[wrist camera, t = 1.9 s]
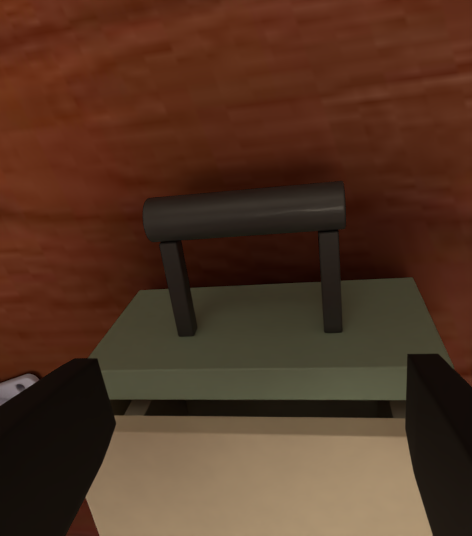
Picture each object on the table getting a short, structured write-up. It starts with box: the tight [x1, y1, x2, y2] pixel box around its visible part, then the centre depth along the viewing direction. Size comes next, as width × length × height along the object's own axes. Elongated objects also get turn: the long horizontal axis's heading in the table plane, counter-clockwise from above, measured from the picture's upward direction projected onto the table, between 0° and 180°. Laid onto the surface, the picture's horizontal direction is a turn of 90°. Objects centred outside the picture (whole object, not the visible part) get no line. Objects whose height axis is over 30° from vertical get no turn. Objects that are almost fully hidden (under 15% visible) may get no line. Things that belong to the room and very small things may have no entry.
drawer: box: [88, 181, 454, 418], centre depth 18 cm, size 18×11×6 cm, turn 7°
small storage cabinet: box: [86, 400, 433, 536], centre depth 20 cm, size 15×13×8 cm
